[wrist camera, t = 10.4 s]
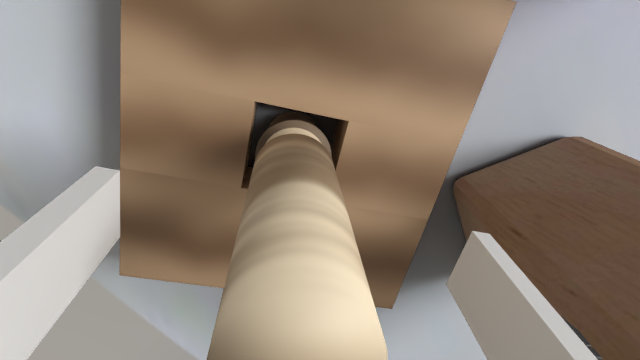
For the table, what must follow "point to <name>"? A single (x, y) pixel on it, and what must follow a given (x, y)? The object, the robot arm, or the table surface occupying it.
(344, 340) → the peg
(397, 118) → the board
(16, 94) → the table surface
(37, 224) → the robot arm
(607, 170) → the wooden block
